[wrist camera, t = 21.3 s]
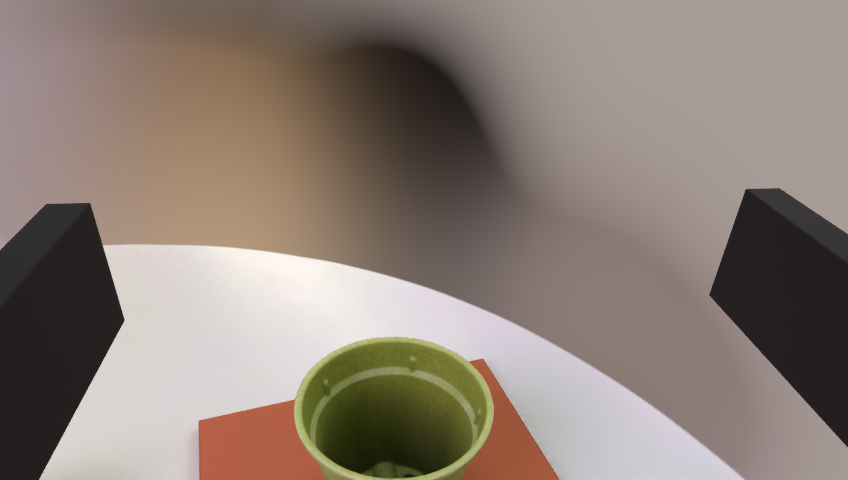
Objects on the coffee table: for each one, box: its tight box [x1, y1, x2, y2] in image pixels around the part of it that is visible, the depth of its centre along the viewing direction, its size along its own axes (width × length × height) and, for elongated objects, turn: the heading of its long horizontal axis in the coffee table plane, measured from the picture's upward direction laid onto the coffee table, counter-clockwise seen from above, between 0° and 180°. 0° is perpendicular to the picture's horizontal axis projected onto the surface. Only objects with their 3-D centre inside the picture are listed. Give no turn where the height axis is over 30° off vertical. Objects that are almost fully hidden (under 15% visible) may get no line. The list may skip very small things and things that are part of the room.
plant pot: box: [294, 337, 494, 480], centre depth 30 cm, size 9×9×9 cm
